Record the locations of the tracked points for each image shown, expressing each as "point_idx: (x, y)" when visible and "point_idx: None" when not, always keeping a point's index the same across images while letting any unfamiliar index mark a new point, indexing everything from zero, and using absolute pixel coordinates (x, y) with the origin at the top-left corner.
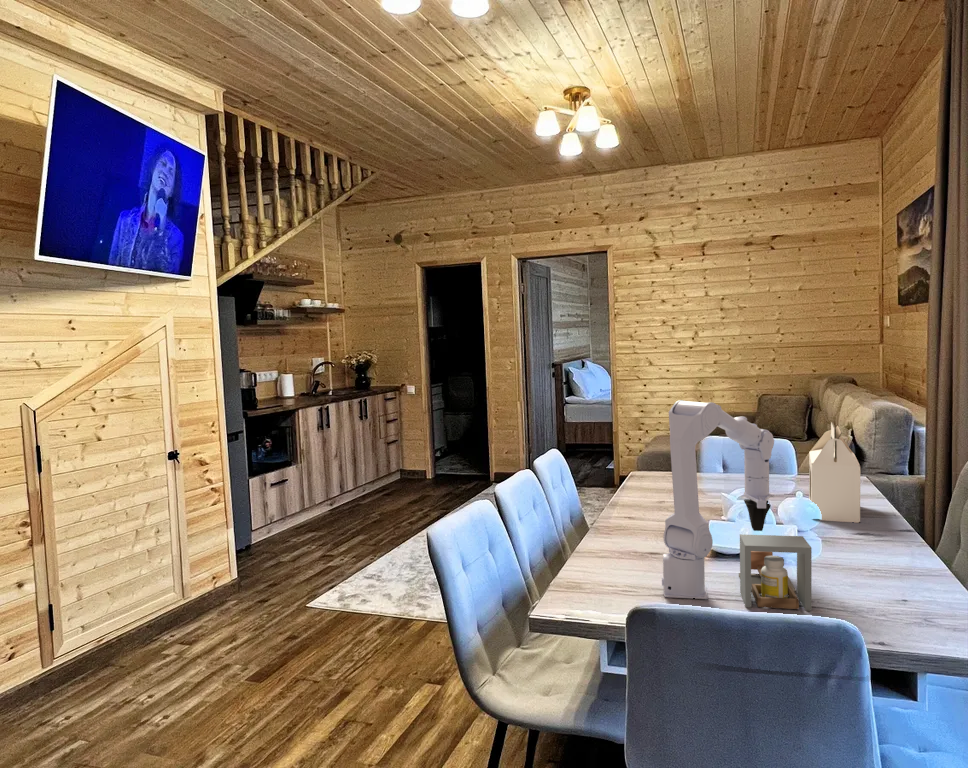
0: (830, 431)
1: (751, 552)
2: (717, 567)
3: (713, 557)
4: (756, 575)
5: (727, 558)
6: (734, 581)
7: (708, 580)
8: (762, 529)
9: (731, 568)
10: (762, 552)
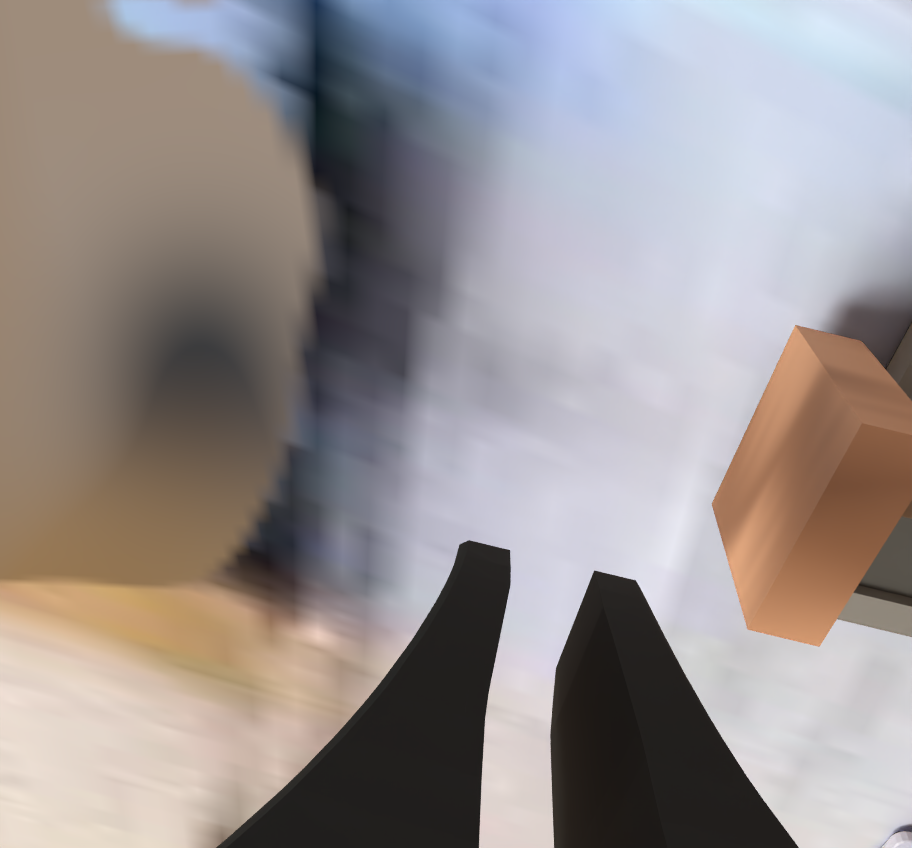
0: None
1: (820, 633)
2: (534, 641)
3: (299, 589)
4: None
5: (323, 507)
6: (864, 646)
7: (784, 769)
8: (643, 595)
9: (573, 564)
10: (882, 543)
